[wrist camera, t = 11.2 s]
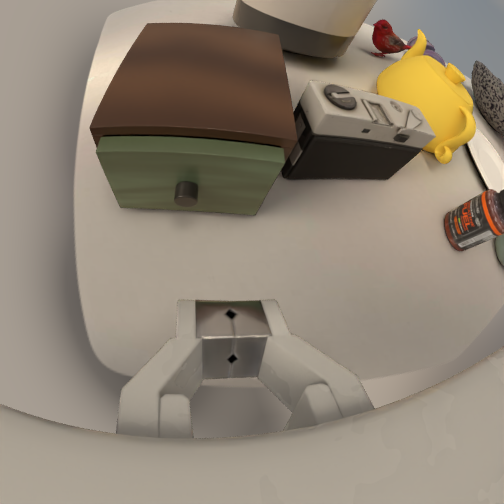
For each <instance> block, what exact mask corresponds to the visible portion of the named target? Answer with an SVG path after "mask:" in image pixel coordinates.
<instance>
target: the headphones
mask: <svg viewBox="0 0 504 504" xmlns="http://www.w3.org/2000/svg"><path fill="white" fill-rule="evenodd" d="M417 38H418V36H417V37H413V38H411V39H410V40H409V41H408V43H407V45H408V46H413V45H414V44H415V42H416V41H417ZM408 50H409V49H408ZM423 55H426V56H430V57H432V58H434V59H435V60H437V61H438V62H440V63H441V64H442V65H443V66H444V67H445V62H444V60H443V59H442V57H441V56H440V55H439V54H438V53H436V52H435V49H434V46H433V45H432V44H431V43H430V42H429V41H428V40H427V45H426V49H425V51H424V54H423Z"/></svg>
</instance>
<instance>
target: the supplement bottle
mask: <svg viewBox="0 0 504 504" xmlns="http://www.w3.org/2000/svg"><path fill="white" fill-rule="evenodd" d="M445 230H446V234H447V237H448V239H449V241H450V243H451V244H452V246H453V247H454V248H455V249H456V250H458V251H464V250H466V249H469V248H471V247H474V246H476V245H479V244H481V243H483V242H486V241H488V240H490V239H493V238H495V237H497V236H499V235H502V234H504V189H503V190H501V191H500V193H498V192H496V191H495V190H493V189H489V190H487V191H485V192H483V193H481V194H480V195H478V196H476V197H474V198H473V199H471V200H469V201H467V202H466V203H464V204H462V205H460V206H458V207H457V208H455V209H453V210H451V211H450V212H448V213H447V214H446V217H445Z"/></svg>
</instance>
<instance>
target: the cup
mask: <svg viewBox="0 0 504 504" xmlns="http://www.w3.org/2000/svg"><path fill="white" fill-rule="evenodd" d="M495 247H496V253H497V256H498V259H499V261H500V263H501V264H502V265H503V266H504V234H502V235H499V236H497V237H496V241H495Z"/></svg>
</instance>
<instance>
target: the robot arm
mask: <svg viewBox="0 0 504 504" xmlns="http://www.w3.org/2000/svg"><path fill="white" fill-rule="evenodd" d="M242 377H258V379H259V380H260V381H261V382H262V383H263V384H264V385H265V386H266V387H267V388H268V389H269V390H270V391H271V392H272V393H273V394H274V395H275V396H276V397H277V398H278V399H279V400H280V401H281V402H282V403H283V404H284V405H285V406H286V407H287V408H288V409H289V410H290V411H291V412H292V413H293V414H292V415H291V417H290V419H289V421H288V422H287V424H286V426H285V428H284V430H283V431H280V432H273V433H266V434H258V435H248V436H238V437H223V438H198V439H197V438H194V436H193V428H192V421H191V411H190V400H191V399H192V397H193V396H194V394H195V392H196V391H197V389H198V387H199V386H200V384H201V383H202V381H203V380H202V379H220V378H242ZM0 504H504V346H503V347H502V348H500V349H499V350H497V351H496V352H494V353H492V354H491V355H490V356H488V357H486V358H484V359H483V360H481V361H479V362H478V363H476V364H474V365H473V366H471V367H469V368H467V369H465V370H464V371H462V372H460V373H458V374H456V375H454V376H452V377H450V378H448V379H446V380H444V381H442V382H440V383H438V384H436V385H434V386H432V387H429V388H427V389H425V390H423V391H420V392H418V393H416V394H413V395H411V396H409V397H406V398H403V399H401V400H398V401H396V402H393V403H390V404H387V405H384V406H382V407H379V408H376V409H375V408H374V406H373V405H372V403H371V401H370V399H369V397H368V395H367V393H366V391H365V389H364V388H363V386H362V384H361V382H360V380H359V378H358V376H357V375H356V374H354V373H353V372H351V371H350V370H348V369H347V368H345V367H344V366H342V365H341V364H339V363H337V362H336V361H334V360H333V359H331V358H330V357H328V356H327V355H325V354H324V353H322V352H321V351H319V350H318V349H316V348H315V347H313V346H312V345H310V344H309V343H307V342H306V341H305V340H303V339H302V338H300V337H299V336H297V335H291V333H290V331H289V328H288V326H287V324H286V321H285V319H284V316H283V314H282V312H281V309H280V307H279V305H278V302H277V301H276V300H275V299H270V300H259V301H215V300H178V303H177V322H176V338H170V339H169V340H168V341H167V342H166V344H165V345H164V346H163V347H162V348H161V349H160V350H159V351H158V352H157V353H156V354H155V355H154V356H153V357H152V358H151V359H150V360H149V361H148V362H147V363H146V364H145V365H144V366H143V367H142V368H141V370H140V371H139V372H138V373H137V374H136V375H135V376H134V377H133V378H132V379H131V380H130V381H129V382H128V383H127V384H126V385H125V386H124V387H123V388H122V389H121V395H120V403H119V411H118V419H117V430H116V434H114V433H107V432H101V431H95V430H90V429H84V428H79V427H74V426H70V425H66V424H62V423H57V422H54V421H50V420H46V419H43V418H40V417H36V416H33V415H30V414H27V413H24V412H21V411H18V410H15V409H12V408H10V407H7V406H5V405H2V404H0Z"/></svg>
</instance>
